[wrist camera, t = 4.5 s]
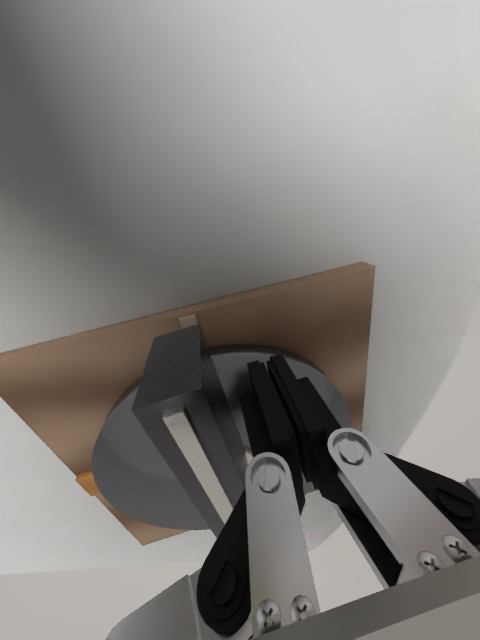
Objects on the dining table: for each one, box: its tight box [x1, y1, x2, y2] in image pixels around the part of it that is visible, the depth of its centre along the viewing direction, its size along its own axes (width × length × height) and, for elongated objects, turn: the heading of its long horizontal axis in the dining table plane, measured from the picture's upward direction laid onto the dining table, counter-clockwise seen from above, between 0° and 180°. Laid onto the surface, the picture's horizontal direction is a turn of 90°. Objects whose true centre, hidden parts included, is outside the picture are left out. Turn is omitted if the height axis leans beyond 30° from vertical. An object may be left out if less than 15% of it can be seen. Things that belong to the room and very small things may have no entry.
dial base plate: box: [0, 262, 375, 545], centre depth 16 cm, size 20×20×1 cm
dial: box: [92, 324, 351, 538], centre depth 13 cm, size 18×16×5 cm
